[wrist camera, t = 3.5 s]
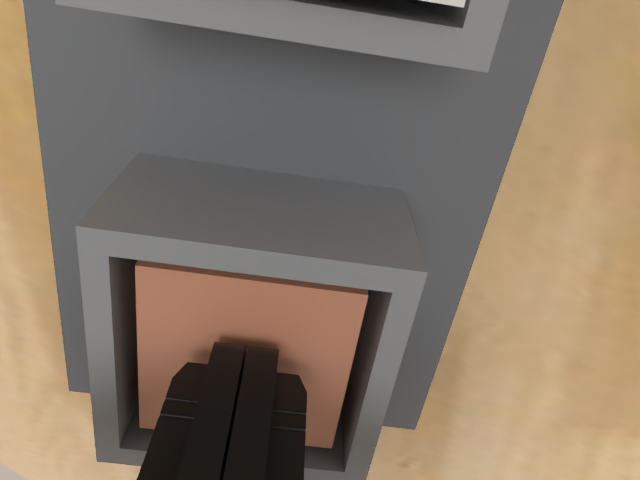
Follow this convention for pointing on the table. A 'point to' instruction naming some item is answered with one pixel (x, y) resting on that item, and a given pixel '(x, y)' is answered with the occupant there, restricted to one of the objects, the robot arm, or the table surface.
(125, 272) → the key panel
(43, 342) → the table surface
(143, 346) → the terracotta key
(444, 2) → the white key
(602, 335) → the table surface
